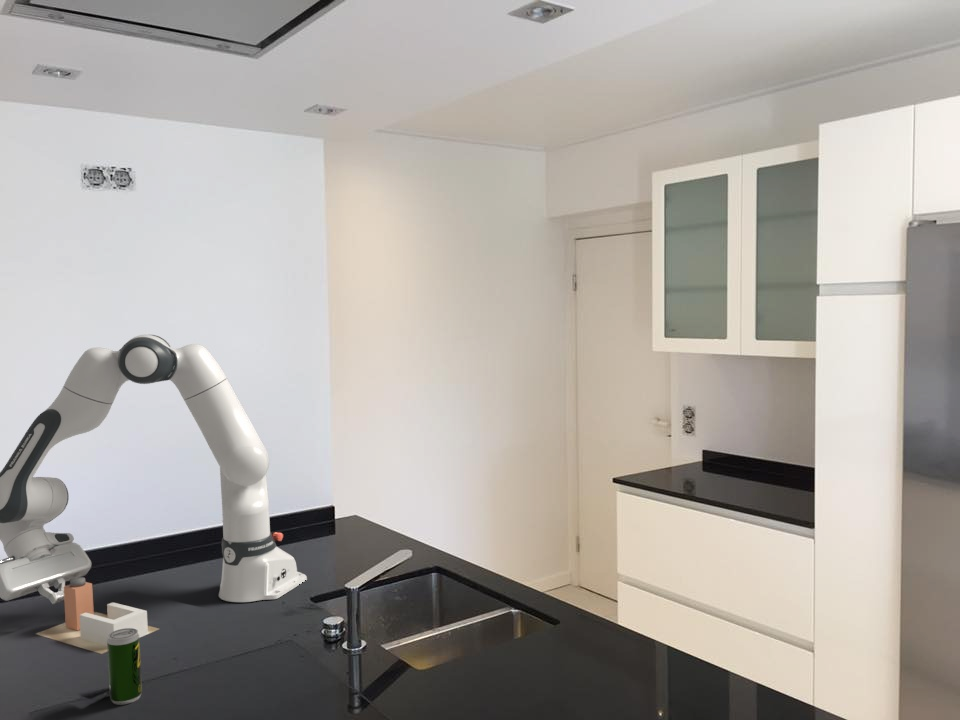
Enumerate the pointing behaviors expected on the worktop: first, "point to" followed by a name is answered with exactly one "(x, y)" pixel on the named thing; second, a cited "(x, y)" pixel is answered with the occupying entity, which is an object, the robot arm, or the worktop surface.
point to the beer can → (124, 666)
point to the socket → (112, 622)
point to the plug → (77, 601)
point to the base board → (78, 636)
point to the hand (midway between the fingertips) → (60, 600)
